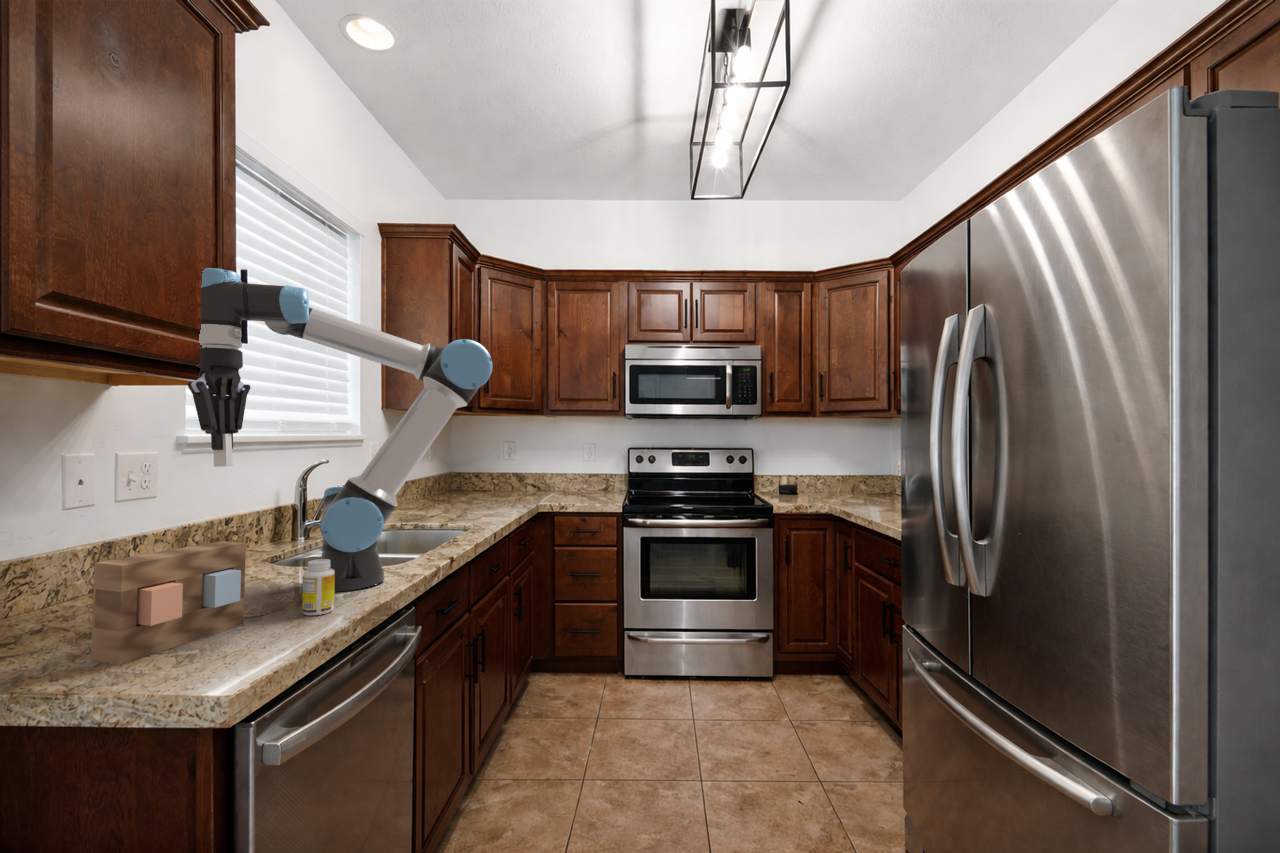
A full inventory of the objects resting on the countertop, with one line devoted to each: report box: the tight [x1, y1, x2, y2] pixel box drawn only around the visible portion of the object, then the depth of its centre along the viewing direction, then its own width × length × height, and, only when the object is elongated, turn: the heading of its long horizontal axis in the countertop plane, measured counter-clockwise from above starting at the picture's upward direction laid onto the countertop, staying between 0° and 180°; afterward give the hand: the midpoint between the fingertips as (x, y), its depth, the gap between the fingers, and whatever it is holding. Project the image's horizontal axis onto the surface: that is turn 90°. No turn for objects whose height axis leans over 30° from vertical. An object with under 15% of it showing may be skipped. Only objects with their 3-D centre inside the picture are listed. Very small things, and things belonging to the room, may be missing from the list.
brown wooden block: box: [90, 540, 247, 666], centre depth 96 cm, size 20×6×15 cm, turn 164°
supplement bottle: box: [301, 558, 335, 617], centre depth 113 cm, size 6×6×10 cm
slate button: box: [202, 569, 241, 608], centre depth 101 cm, size 5×7×5 cm, turn 74°
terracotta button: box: [136, 582, 183, 626], centre depth 91 cm, size 5×7×5 cm, turn 74°
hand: (223, 466), depth 114 cm, fingers closed
